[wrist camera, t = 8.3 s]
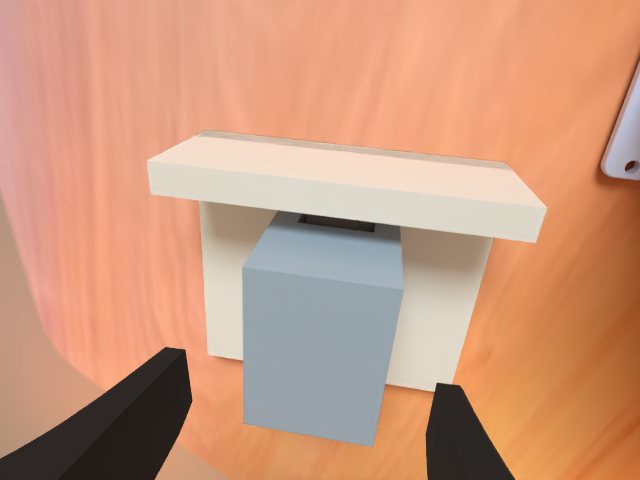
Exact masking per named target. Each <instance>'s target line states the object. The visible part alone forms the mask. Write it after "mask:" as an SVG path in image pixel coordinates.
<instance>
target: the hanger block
mask: <svg viewBox="0 0 640 480" xmlns="http://www.w3.org/2000/svg"><path fill="white" fill-rule="evenodd" d="M403 291H404V285H403V267H402V250H401V232H400V226H399V225H391V224H383V223H375V222H374V229H373V232H366V231H358V230H350V229H343V228H335V227H327V226H320V225H312V224H306V214H304V213H296V212H288V211H280V210H278V211H277V213H276V214H275V216H274V218H273V219H272V221H271V222H270V224H269V225H268V227H267V229H266V230H265V232H264V233H263V235H262V236H261V238H260V240H259V241H258V243H257V244H256V246H255V247H254V249H253V251H252V252H251V254H250V255H249V257H248V259H247V260H246V262H245V263H244V265H243V266H242V298H243V407H244V424H248V425H254V426H259V427H265V428H270V429H276V430H281V431H287V432H292V433H298V434H304V435H309V436H315V437H320V438H326V439H331V440H337V441H342V442H348V443H354V444H359V445H365V446H370V447H373V446H374V441H375V435H376V430H377V425H378V420H379V415H380V410H381V405H382V399H383V394H384V389H385V384H386V379H387V374H388V368H389V363H390V358H391V353H392V348H393V343H394V338H395V332H396V327H397V322H398V317H399V312H400V307H401V302H402V296H403Z"/></svg>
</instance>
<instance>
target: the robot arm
mask: <svg viewBox="0 0 640 480" xmlns="http://www.w3.org/2000/svg"><path fill="white" fill-rule="evenodd" d="M630 161H635V164H634V166H633V168H632V169H630V170H628V171H625V166H626V164H627V163H628V162H630ZM600 167H601V170H602V172H604V173H605V174H606V175H608V176H610V177H613V178H621V179H630V180H639V181H640V61H639V64H638V67H637V69H636V72H635V74H634V77H633V80H632V82H631V85H630V88H629V90H628V93H627V95H626V98H625V101H624V103H623V106H622V109H621V111H620V114H619V116H618V119H617V122H616V124H615V127H614V130H613V132H612V135H611V138H610V140H609V143H608V145H607V148H606V151H605V153H604V156H603V159H602V161H601V166H600ZM191 403H192V394H191V387H190V379H189V372H188V365H187V358H186V351H185V350H184V349H176V348H169V347H165V348H164V349H163V350H161V351H160V352H158V353H157V354H156V355H154V356H153V357H152V358H151V359H149V360H148V361H147V362H145V363H144V364H143V365H141V366H140V367H139V368H138V369H136V370H135V371H134V372H132V373H131V374H130V375H128V376H127V377H126V378H124V379H123V380H122V381H120V382H119V383H118V384H116V385H115V386H114V387H112V388H111V389H110V390H108V391H107V392H106V393H104V394H103V395H102V396H100V397H99V398H97V399H96V400H94V401H93V402H92V403H90V404H89V405H87V406H86V407H84V408H83V409H81V410H80V411H78V412H77V413H76V414H74V415H73V416H71V417H70V418H68V419H67V420H65V421H64V422H62V423H61V424H59V425H58V426H56V427H55V428H53V429H51V430H50V431H48V432H46V433H45V434H43V435H41V436H40V437H38V438H36V439H35V440H33V441H31V442H30V443H28V444H26V445H24V446H23V447H21V448H19V449H17V450H16V451H14V452H12V453H10V454H8V455H6V456H4V457H2V458H1V459H0V480H155V478H156V476H157V474H158V472H159V471H160V469H161V467H162V465H163V463H164V462H165V460H166V458H167V456H168V454H169V452H170V450H171V449H172V447H173V445H174V443H175V441H176V439H177V437H178V435H179V433H180V431H181V429H182V426H183V424H184V421H185V419H186V416H187V414H188V411H189V409H190V406H191ZM426 457H427V476H428V480H515V478H514V477H513V475H512V474H511V472H510V471H509V469H508V468H507V466H506V465H505V463H504V461H503V460H502V458H501V457H500V455H499V453H498V452H497V450H496V448H495V447H494V445H493V444H492V442H491V440H490V439H489V437H488V435H487V434H486V432H485V430H484V428H483V426H482V425H481V423H480V421H479V419H478V418H477V416H476V414H475V412H474V410H473V408H472V406H471V404H470V402H469V401H468V399H467V397H466V395H465V393H464V390H463V389H462V388H461V386H460V385H452V384H445V383H436V388H435V393H434V397H433V402H432V407H431V412H430V417H429V422H428V426H427V431H426Z"/></svg>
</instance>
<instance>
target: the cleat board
mask: <svg viewBox="0 0 640 480" xmlns="http://www.w3.org/2000/svg"><path fill="white" fill-rule="evenodd" d="M147 167H148V176H149V185H150V194H154V195H162V196H170V197H177V198H185V199H193V200H199V207H200V225H201V242H202V259H203V276H204V293H205V311H206V328H207V345H208V355H213V356H219V357H225V358H231V359H237V360H243V298H242V266H243V265H244V263H245V262H246V260H247V259H248V257H249V255H250V254H251V252H252V251H253V249H254V247H255V246H256V244H257V243H258V241H259V240H260V238H261V236H262V235H263V233H264V232H265V230H266V229H267V227H268V225H269V224H270V222H271V221H272V219H273V218H274V216H275V214H276V213H277V211H278V210H280V211H288V212H296V213H304V214H306V224H312V225H320V226H327V227H335V228H343V229H350V230H358V231H366V232H373V229H374V222H375V223H383V224H391V225H399V226H400V232H401V250H402V267H403V285H404V291H403V296H402V302H401V307H400V312H399V317H398V322H397V327H396V332H395V338H394V343H393V348H392V353H391V358H390V363H389V368H388V374H387V379H386V384H389V385H395V386H402V387H408V388H414V389H420V390H426V391H432V392H435V388H436V383H445V384H452V382H453V378H454V375H455V371H456V368H457V365H458V361H459V358H460V354H461V351H462V347H463V344H464V340H465V337H466V333H467V330H468V326H469V323H470V319H471V316H472V312H473V309H474V305H475V302H476V298H477V295H478V292H479V288H480V285H481V281H482V278H483V274H484V271H485V267H486V264H487V260H488V257H489V253H490V250H491V246H492V243H493V239H494V238H501V239H509V240H517V241H525V242H533V243H536V240H537V237H538V234H539V231H540V228H541V225H542V222H543V219H544V216H545V213H546V210H547V207H546V206H545V205H544V204H543V203H542V202H541V201H540V200H539V198H538V197H537V196H536V195H535V194H534V193H533V192H532V191H531V190H530V189H529V187H528V186H527V185H526V184H525V183H524V182H523V181H522V180H521V179H520V178H519V177H518V175H517V174H516V173H515V172H514V171H513V170H512V169H511V168H510V167H509V166H508V164H507V163H506V162H496V161H487V160H478V159H469V158H460V157H451V156H441V155H432V154H423V153H414V152H405V151H396V150H387V149H377V148H368V147H359V146H350V145H341V144H332V143H322V142H313V141H304V140H295V139H286V138H277V137H267V136H258V135H249V134H240V133H231V132H222V131H213V130H205V131H203V132H201V133H199V134H197V135H195V136H193V137H191V138H190V139H188V140H186V141H184V142H182V143H180V144H178V145H176V146H174V147H172V148H170V149H168V150H166V151H164V152H163V153H161V154H159V155H157V156H155V157H153V158H151V159H149V160H147Z"/></svg>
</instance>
